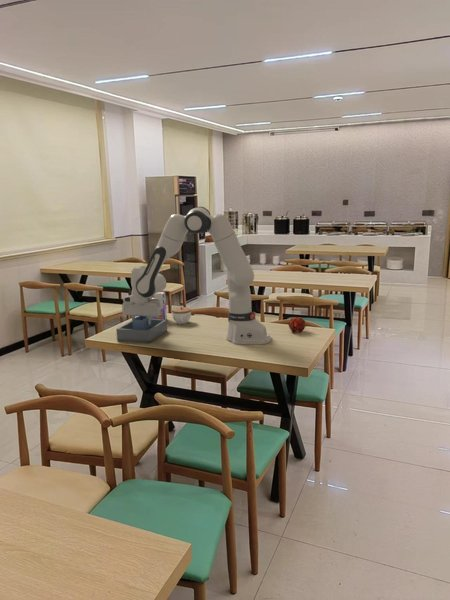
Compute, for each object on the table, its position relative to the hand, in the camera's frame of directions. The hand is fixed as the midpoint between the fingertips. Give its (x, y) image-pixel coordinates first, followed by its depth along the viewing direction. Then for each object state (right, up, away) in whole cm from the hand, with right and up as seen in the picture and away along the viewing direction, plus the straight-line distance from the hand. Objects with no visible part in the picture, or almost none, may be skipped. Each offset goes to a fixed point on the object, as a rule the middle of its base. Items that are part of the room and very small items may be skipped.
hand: (142, 323), depth 244 cm
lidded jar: (+18, -1, +25) cm, 31 cm away
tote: (0, -3, +1) cm, 3 cm away
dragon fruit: (+81, -5, +3) cm, 81 cm away
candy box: (+2, 0, +32) cm, 32 cm away
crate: (0, -6, +2) cm, 6 cm away
